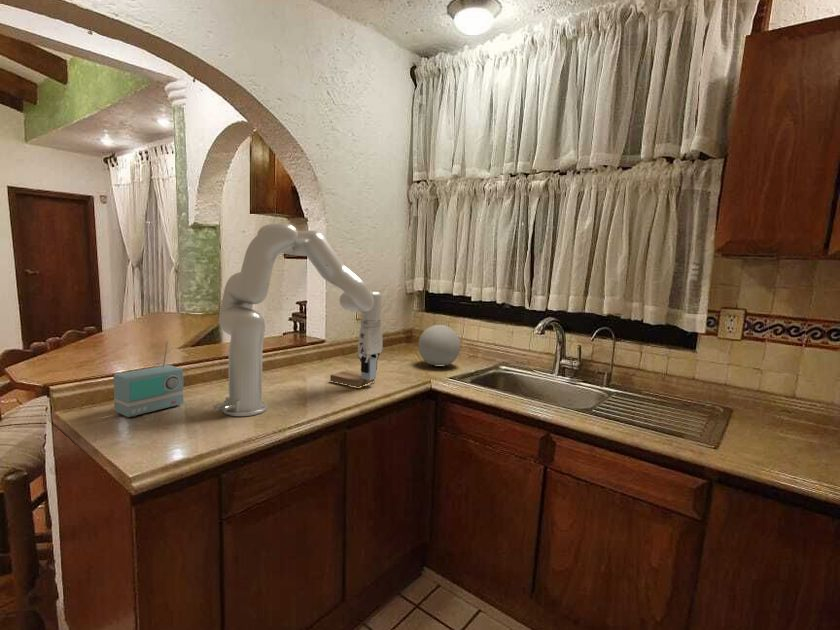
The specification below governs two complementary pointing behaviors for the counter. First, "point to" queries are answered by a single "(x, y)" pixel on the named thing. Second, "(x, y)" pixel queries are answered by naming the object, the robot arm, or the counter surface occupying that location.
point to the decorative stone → (439, 345)
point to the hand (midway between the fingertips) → (368, 370)
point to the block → (370, 369)
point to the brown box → (349, 378)
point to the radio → (148, 389)
